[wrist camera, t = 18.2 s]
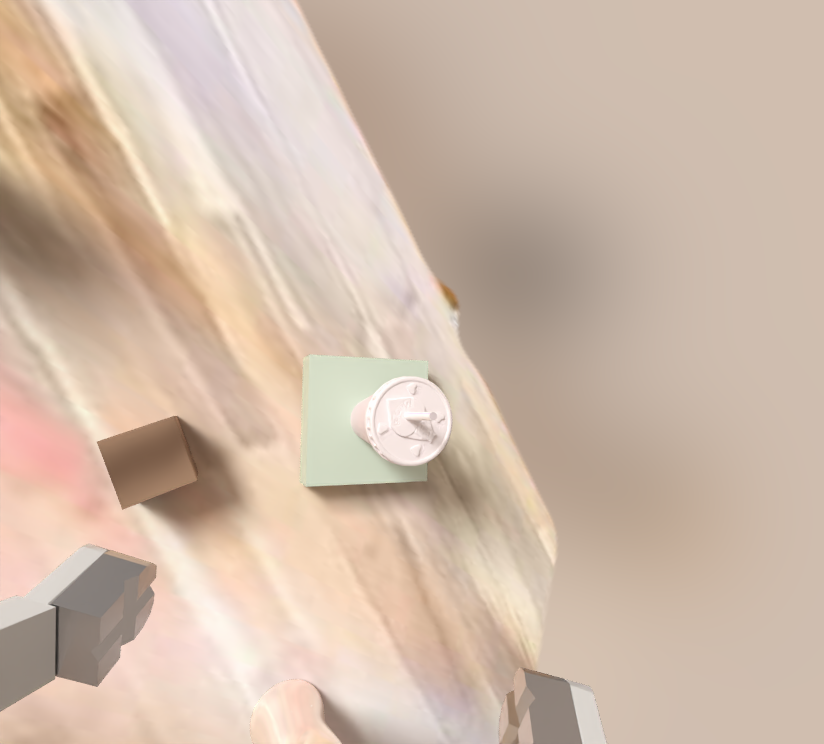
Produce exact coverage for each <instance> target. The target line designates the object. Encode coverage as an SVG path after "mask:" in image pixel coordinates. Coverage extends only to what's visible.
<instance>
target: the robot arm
mask: <svg viewBox="0 0 824 744" xmlns="http://www.w3.org/2000/svg"><path fill="white" fill-rule="evenodd" d="M155 578H156V565H155V564H153V563H151V562H147V561H144V560H141V559H138V558H135V557H132V556H128V555H125V554H122V553H119V552H116V551H112V550H108V549H105V548H101V547H98V546H95V545H92V544H87V545H85V546H82V547H80V548H79V549H78V550H77V551H76V552H75V553H73V554H72V555H71V556H70V557H69V558H68V559H67V560H65V561H64V562H63V563H62V564H61V565H60V566H58V567H57V568H56V569H55V570H54V571H53V572H52V573H50V574H49V575H48V576H47V577H46V578H45V579H44V580H42V581H41V582H40V583H39V584H38V585H37V586H36V587H34V588H33V589H32V590H31V591H30V592H29V593H28V594H26V595H25V596H24V597H20V596H17V595H16V596H13V597H11V598H8V599H5V600H2V601H0V711H2V710H4V709H5V708H7V707H9V706H10V705H12V704H14V703H16V702H17V701H19V700H21V699H22V698H24V697H26V696H27V695H29V694H31V693H32V692H34V691H36V690H37V689H39V688H41V687H42V686H44V685H46V684H47V683H49V682H51V681H52V680H54V679H55V676H57V677H61V678H65V679H69V680H73V681H77V682H81V683H85V684H89V685H92V686H96V687H98V685H99V684H100V683H101V682H102V680H103V679H104V678H105V676H106V675H107V674H108V673H109V671H110V670H111V669H112V667H113V666H114V665H115V664H116V662H117V661H118V660H119V658H120V651H121V646H122V645H124V644H126V643H128V642H130V641H132V640H134V639H135V638H136V636H137V635H138V634H139V632H140V631H141V630H142V628H143V626H144V625H145V623H146V621H147V619H148V617H149V615H150V613H151V609H152V606H153V602H154V592H153V590H152V589H151V587H150V584H151V583H152V582H153V581H154V579H155ZM513 684H514V690H513V691H511V692H510V693H508V694H506V697H505V699H504V702H503V705H502V709H501V714H500V719H499V744H607V741H606V738H605V734H604V730H603V727H602V723H601V719H600V715H599V712H598V708H597V704H596V700H595V697H594V693H593V690H592V689H591V688H590V686H587V685H584V684H580V683H577V682H573V681H569V680H565V679H563V678H559V677H555V676H552V675H548V674H544V673H540V672H537V671H533V670H529V669H526V668H522V667H520V668H519V669H518V670H517V672H516V674H515V676H514V678H513Z"/></svg>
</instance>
